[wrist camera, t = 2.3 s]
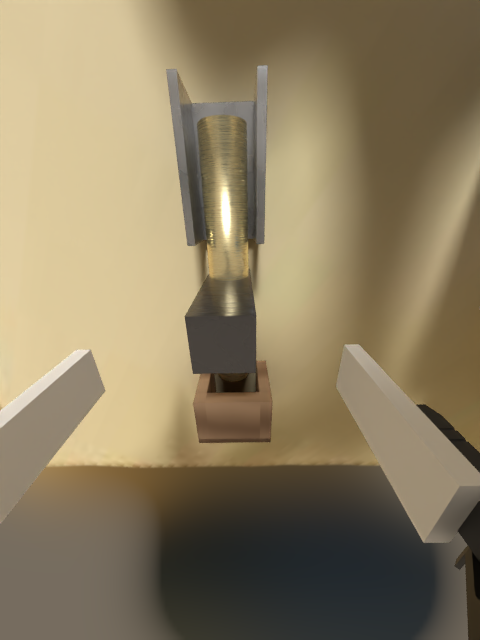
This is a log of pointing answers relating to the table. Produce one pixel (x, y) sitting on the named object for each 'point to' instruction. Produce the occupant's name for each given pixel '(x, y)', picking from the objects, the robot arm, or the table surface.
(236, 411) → the brown boxy piece
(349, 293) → the table surface
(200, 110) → the aluminum u-channel
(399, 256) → the table surface
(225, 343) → the hammer
